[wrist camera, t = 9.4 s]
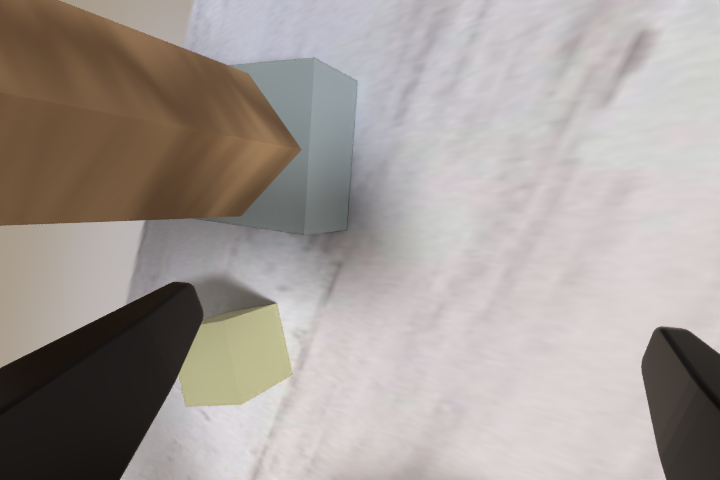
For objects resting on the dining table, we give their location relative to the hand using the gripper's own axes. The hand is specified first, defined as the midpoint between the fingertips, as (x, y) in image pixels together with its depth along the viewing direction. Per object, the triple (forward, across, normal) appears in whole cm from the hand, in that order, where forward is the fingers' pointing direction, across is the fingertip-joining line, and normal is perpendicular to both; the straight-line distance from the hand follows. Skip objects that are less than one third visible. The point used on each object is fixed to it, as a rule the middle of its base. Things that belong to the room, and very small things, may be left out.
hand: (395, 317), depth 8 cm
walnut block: (+12, +10, +1) cm, 16 cm away
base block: (+16, +9, +3) cm, 18 cm away
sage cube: (+11, +11, +14) cm, 21 cm away
